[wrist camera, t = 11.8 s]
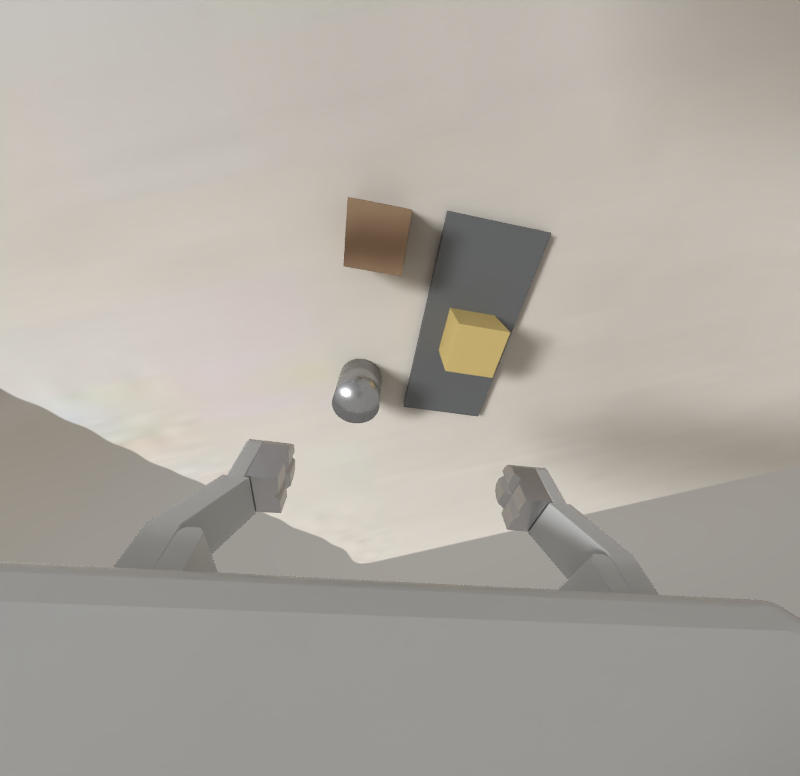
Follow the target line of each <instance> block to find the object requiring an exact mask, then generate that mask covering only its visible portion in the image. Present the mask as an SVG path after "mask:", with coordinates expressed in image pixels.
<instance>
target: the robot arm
mask: <svg viewBox="0 0 800 776" xmlns="http://www.w3.org/2000/svg"><path fill="white" fill-rule="evenodd" d="M293 454H294V445H293V444H288V443H280V442H272V441H262V440H254V439H250V440H249V441H247V442H246V444H245V446H244V447H243V449H242V451H241V453H240V454H239V456H238V458H237V459H236V461H235V463H234V464H233V466H232V468H231V470H230V471H229V473H228V475H222V476H220V477H218V478H217V479H215V480H214V481H212V482H210V483H209V484H207V485H206V486H204V487H203V488H201V489H199V490H198V491H196V492H195V493H193V494H191V495H190V496H188V497H186V498H185V499H183V500H182V501H180V502H179V503H177V504H175V505H174V506H172V507H171V508H169V509H167V510H166V511H164V512H163V513H161V514H159V515H158V516H156V517H155V518H153V519H151V520H150V521H148V522H147V523H146V524H145V525H144V527H143V528H142V529H141V531H140V532H139V533H138V535H137V536H136V537H135V539H134V540H133V541H132V543H131V544H130V545H129V547H128V548H127V549H126V551H125V552H124V553H123V555H122V556H121V557H120V559H119V560H118V561H117V563H116V564H115V565H114V567H100V566H80V565H79V566H78V565H61V564H42V563H23V562H22V563H21V562H2V561H0V776H800V618H799V617H797V616H795V615H794V614H792V613H791V612H789V611H787V610H786V609H784V608H783V607H781V606H779V605H777V604H775V603H772V602H768V601H763V600H749V599H729V598H710V597H709V598H708V597H690V596H670V595H659V594H658V592H657V591H656V589H655V588H654V586H653V585H652V583H651V582H650V580H649V579H648V577H647V576H646V574H645V573H644V571H643V570H642V568H641V567H640V565H639V564H638V562H637V561H636V559H635V558H634V556H633V555H632V554H631V553H629V552H628V551H627V550H626V549H624V548H623V547H622V546H621V545H620V544H618V543H617V542H616V541H615V540H613V539H612V538H611V537H610V536H609V535H607V534H606V533H605V532H604V531H602V530H601V529H600V528H599V527H597V526H596V525H595V524H594V523H593V522H591V521H590V520H589V519H588V518H586V517H585V516H584V515H583V514H581V513H580V512H579V511H578V510H577V509H575V508H574V507H573V506H572V505H570V504H566V502H565V500H564V499H563V497H562V495H561V493H560V491H559V490H558V488H557V486H556V484H555V483H554V481H553V479H552V477H551V476H550V474H549V472H548V471H547V470H546V469H545V468H537V467H526V466H515V465H507V466H506V467H505V468H504V470H503V474H504V476H502V477H501V478H499V479H498V481H497V483H496V489H495V493H496V498H497V501H498V503H499V504H500V505H501V506H502V507H503V511H502V516H503V519H504V522H505V525H506V528H507V529H508V530H517V531H527V532H528V533H529V534H530V535H531V537H533V539H534V540H535V541H536V543H537V544H538V545H539V546H540V547H541V548H542V550H543V551H544V552H545V553H546V554H547V555H548V557H549V558H550V559H551V560H552V561H553V563H555V565H556V566H557V567H558V568H559V569H560V571H561V572H562V573H563V574H564V575H565V577H566V578H567V579H568V580H567V581H566V582H565V583H564V584H563V585H562V586H561V587H560V588H559V590H551V589H531V588H511V587H493V586H473V585H453V584H434V583H415V582H395V581H375V580H354V579H334V578H315V577H296V576H276V575H255V574H235V573H218V571H217V569H216V566H215V563H214V560H213V558H212V555H211V554H212V553H213V552H214V551H216V550H217V549H218V548H219V547H220V546H221V545H222V544H223V543H224V542H225V541H226V540H227V539H228V538H230V536H231V535H233V534H234V533H235V532H236V531H237V530H238V529H239V528H240V527H241V526H242V525H243V524H245V523H246V522H247V521H248V520H249V519H250V518H251V517H252V516H253V515H254V514H255V512H273V513H281V512H282V509H283V506H284V503H285V500H286V497H287V490H286V489H287V488H288V487H289V486H291V483H292V480H293V476H294V471H295V460H294V458H293Z"/></svg>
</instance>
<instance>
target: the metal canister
mask: <svg viewBox="0 0 800 776" xmlns="http://www.w3.org/2000/svg"><path fill="white" fill-rule="evenodd" d="M380 386H381V374H380V371H379V369H378V367H377V366H376V365H375V364H374V363H372V362H370V361H368V360H365V359H354V360H351V361H349V362H348V363H346V364H345V365H344V366H343V368H342V370H341V373H340V377H339V380H338V383H337V386H336V390H335V393H334V396H333V400H332V406H333V409H334V411H335V413H336V414H337V415H338V416H339V417H340V418H341V419H343V420H345V421H347V422H351V423H363V422H367V421H369V420H371V419H372V418H373V417H375V415H376V414H377V412H378V410H379V401H380Z"/></svg>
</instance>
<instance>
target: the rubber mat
mask: <svg viewBox="0 0 800 776" xmlns="http://www.w3.org/2000/svg"><path fill="white" fill-rule="evenodd" d="M550 234H551V233H549V232H545V231H540V230H535V229H531V228H526V227H521V226H516V225H512V224H507V223H502V222H498V221H493V220H488V219H483V218H479V217H474V216H469V215H465V214H460V213H455V212H450V211H447V214H446V219H445V223H444V227H443V232H442V236H441V241H440V245H439V250H438V254H437V259H436V263H435V267H434V272H433V276H432V281H431V285H430V290H429V294H428V298H427V303H426V307H425V312H424V316H423V321H422V325H421V330H420V334H419V338H418V343H417V347H416V352H415V356H414V361H413V365H412V369H411V374H410V378H409V383H408V387H407V392H406V396H405V401H404V407H411V408H418V409H426V410H433V411H441V412H449V413H456V414H464V415H471V416H478V415H479V412H480V410H481V407H482V405H483V402H484V400H485V397H486V395H487V392H488V390H489V387H490V385H491V382H492V380H493V378H489V377H483V376H476V375H469V374H462V373H456V372H449V371H445V369H444V365H443V362H442V359H441V356H440V353H439V347H440V343H441V339H442V336H443V332H444V328H445V325H446V321H447V317H448V313H449V310H450V308H455V309H461V310H466V311H472V312H478V313H484V314H489V315H495V316H496V318H497V319H498V320H499V321H500V322H501V323H502V324H503V325H504V326H505V327H506V328H507V329H508V330H509V331H510V334H511V332H512V329H513V327H514V324H515V322H516V319H517V317H518V314H519V312H520V309H521V307H522V304H523V302H524V299H525V297H526V294H527V292H528V289H529V287H530V284H531V282H532V279H533V277H534V274H535V272H536V269H537V267H538V264H539V262H540V259H541V257H542V254H543V252H544V249H545V247H546V244H547V242H548V239H549V237H550ZM509 337H510V335H509ZM509 337H508V339H509ZM507 342H508V340H507ZM507 342H506V345H507ZM506 345H505V347H506ZM505 347H504V350H505ZM504 350H503V352H504ZM503 352H502V355H503ZM502 355H501V357H502ZM501 357H500V360H501ZM500 360H499V362H500ZM499 362H498V365H499ZM498 365H497V367H498ZM497 367H496V370H497ZM496 370H495V372H496ZM495 372H494V375H495ZM494 375H493V377H494Z"/></svg>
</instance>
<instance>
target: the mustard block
mask: <svg viewBox="0 0 800 776" xmlns="http://www.w3.org/2000/svg"><path fill="white" fill-rule="evenodd" d="M509 335H510V331H509V330H508V329H507V328H506V327H505V326H504V325H503V324H502V323H501V322H500V321H499V320H498V319H497V318H496V316H495V315H489V314H484V313H478V312H472V311H466V310H461V309H455V308H450V310H449V313H448V317H447V321H446V325H445V328H444V332H443V336H442V339H441V343H440V347H439V353H440V356H441V359H442V362H443V365H444V369H445V371H449V372H456V373H462V374H469V375H476V376H483V377H489V378H493V375H494V372H495V370H496V367H497V365H498V362H499V360H500V357H501V355H502V352H503V350H504V347H505V345H506V342H507V340H508V337H509Z"/></svg>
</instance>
